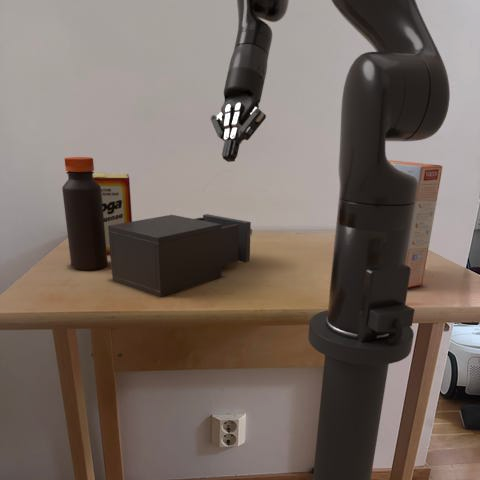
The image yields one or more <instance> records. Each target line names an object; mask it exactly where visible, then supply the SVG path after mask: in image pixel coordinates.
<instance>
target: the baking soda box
mask: <svg viewBox="0 0 480 480" xmlns="http://www.w3.org/2000/svg"><path fill="white" fill-rule="evenodd" d="M93 179H94V180H95V181H96V182H97V183H98V184H99V185H100V187H101V194H102V205H103V217H104V228H105V240H106V251H107V255H110V243H109V231H108V226H109V225H115V224H121V223H127V222H133V215H132V214H133V213H132V200H131V199H132V198H131V183H130V182H131V181H130V176H129V173H106V172H96V173H95V172H94V173H93Z"/></svg>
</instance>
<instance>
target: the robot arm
mask: <svg viewBox="0 0 480 480" xmlns="http://www.w3.org/2000/svg"><path fill="white" fill-rule="evenodd" d="M289 3H290V0H236V4H237V5H236V7H237V15H238V16H237V18H238V22H237V23H238V24H237V34H236V38H235V43H234V47H233V52H232V54H231V57H230V61H229V66H228V71H227V74H226V80H225V84H224V89H223V97H224V102H223V104H222V106H221V109H220V112H219V113H218V114H217V115H215V114H213V115H211V116H210V121H211V124H212V126H213V128H214V131H215V133H216V135H217V137H218V138H219V139H221V140H222V141H223V142H224V143H223V147H222V152H221V156H222V159H223V160H224V161H226V162H227V163H231V162H236V159H237V157H238V154H239V149H240V145H241V144H242V142H243V141H244V140H245V141H248V140H250V139H251V137H252V136H253V135H254V133H255V132H256V131H257V130H258V128H260V126H261V125H262V124H263V122H264V121H265V120H266V118H267V114H266V113H264V112H263V111H262V110H261V109H260V108H259V107H260V106H259V104H260V103H261V100H262V95H263V90H264V86H265V81H266V76H267V71H268V61H269V57H270V56H269V55H270V51H271V47H272V42H273V30H272V28H271V26H269V24H268V23H266V22H270V23H277V22H280V21H282V19H284V17H285V15H286V14H287V12H288V8H289ZM331 3H332V4H333V5H334V7H335V8H336V10H337V11H338V12H339V14H340V15H341V16H342V17H343V18H344V19H345V20H346V21H347V23H349V24H350V26H352V27H353V28H354V29H355V31H356V32H358V33H359V34H360V35H361V36H362V37H363V39H365V40H366V41H367V42H368V43H369V44H370V45H371V46H372V48H373V49H374V51H367V52H364V53H362V54H360V55H358V57H356V58H355V59H354V61H353V62H352V64H351V66H350V67H349V69H348V72H347V75H346V78H345V81H344V85H343V89H342V90H343V91H342V97H341V108H340V109H341V110H340V131H339V132H340V135H339V139H340V140H339V152H338V153H339V154H338V156H339V157H338V178H339V194H338V202H337V214H336V224H335V233H334V244H333V254H332V264H331V273H330V275H331V276H330V285H329V296H328V307H327V310H328V316H327V318H326V325H327V327H328V328H329V329H330V330H331V331H333V332H334V333H336V334H339V335H341V336H344V337H348V338H352V339H356V340H358V341H360V342H362V343H366V342H372V341H377V340H383V339H388V340H387V341H388V343H390V344H393V343H394V342H396V341H398V340H399V339H400V338H401V336H402V328H404V327H412V326H413V322H414V321H413V320H414V315H415V308H413V307H411V306H409V305H407V304H406V302H407V297H408V290H409V288H408V285H409V278H410V272H411V268H410V267H409V266H407V265H406V259H407V253H408V247H409V240H410V234H411V227H412V222H413V216H414V209H415V202H416V197H417V191H418V182H417V179H416V178H415V177H413V176H412V175H410V174H407V173H405V172H402V171H400V170H398V169H397V168H395V167H394V166H393V165H392V164H391V163H390V162H389V161H388V160H389V159H388V158H387V154H386V142H417V141H423V140H426V139H429V138H430V137H432V136H434V135H436V134H437V133H438V132H439V130H440V129H441V128H442V126H443V125H444V122H445V121H446V118H447V115H448V111H449V106H450V98H451V97H450V96H451V95H450V94H451V93H450V92H451V91H450V82H449V76H448V73H447V69H446V66H445V63H444V61H443V58H442V56H441V54H440V51H439V50H438V47H437V45H436V44H435V41H434V39H433V37H432V35H431V33H430V31H429V29H428V27H427V25H426V22H425V20H424V18H423V16H422V14H421V10H420V9H419V7H418V3H417V1H416V0H331ZM265 21H266V22H265Z"/></svg>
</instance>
